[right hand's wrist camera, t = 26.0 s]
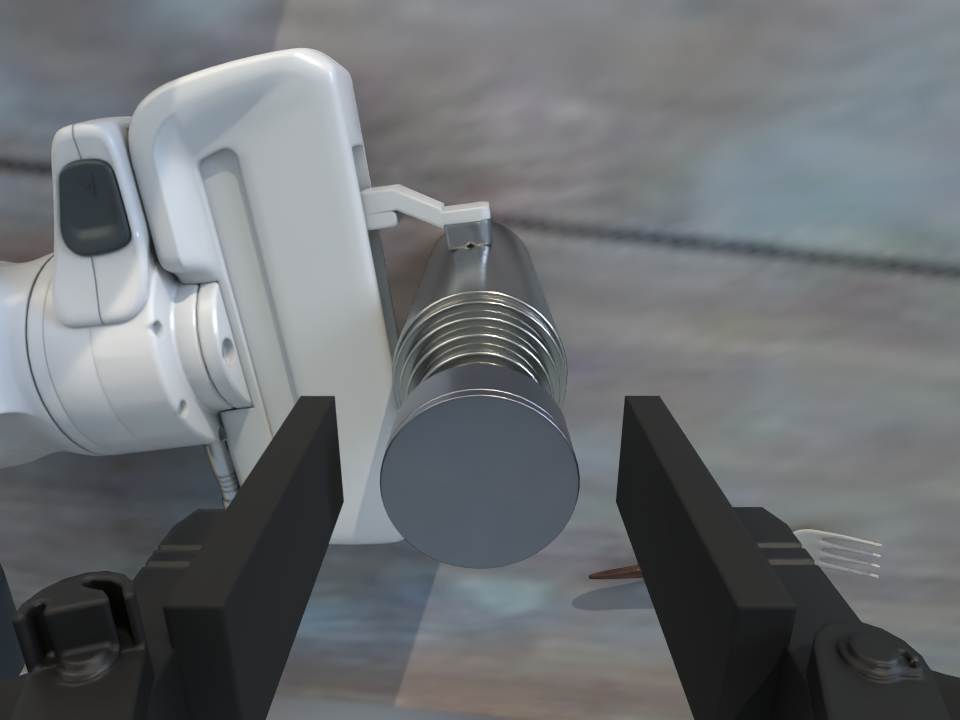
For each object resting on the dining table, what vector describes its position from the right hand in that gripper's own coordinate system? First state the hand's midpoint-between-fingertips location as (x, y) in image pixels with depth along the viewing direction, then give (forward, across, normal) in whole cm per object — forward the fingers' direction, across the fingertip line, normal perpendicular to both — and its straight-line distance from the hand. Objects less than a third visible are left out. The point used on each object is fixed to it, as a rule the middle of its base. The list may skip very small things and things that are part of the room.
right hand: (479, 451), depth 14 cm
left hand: (+12, -1, 0) cm, 12 cm away
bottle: (+18, 0, 0) cm, 18 cm away
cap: (-1, 0, 0) cm, 1 cm away
